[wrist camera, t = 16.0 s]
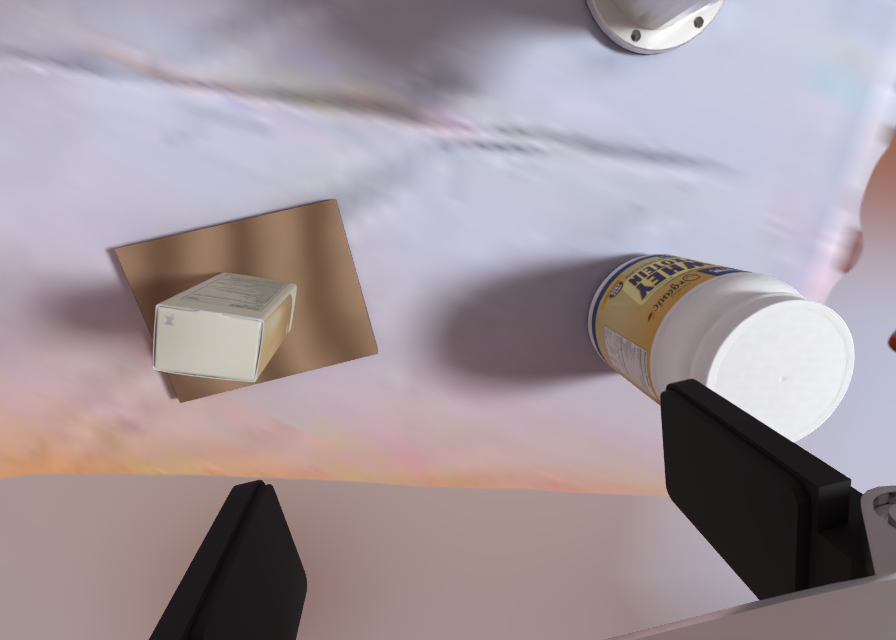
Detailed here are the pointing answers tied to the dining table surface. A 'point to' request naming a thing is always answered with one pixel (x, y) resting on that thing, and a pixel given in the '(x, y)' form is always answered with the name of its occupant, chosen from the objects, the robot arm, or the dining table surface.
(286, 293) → the skincare box
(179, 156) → the dining table surface
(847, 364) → the supplement tub
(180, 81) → the dining table surface
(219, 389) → the walnut board
